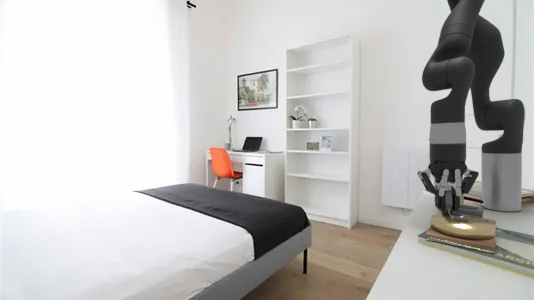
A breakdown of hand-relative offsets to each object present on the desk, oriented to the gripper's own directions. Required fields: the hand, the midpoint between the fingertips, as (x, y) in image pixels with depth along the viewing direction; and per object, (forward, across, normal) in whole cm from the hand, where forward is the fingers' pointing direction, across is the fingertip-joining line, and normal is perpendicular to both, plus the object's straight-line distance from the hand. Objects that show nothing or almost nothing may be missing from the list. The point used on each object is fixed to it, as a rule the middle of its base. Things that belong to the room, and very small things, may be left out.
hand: (447, 209), depth 65 cm
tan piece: (+5, +2, -2) cm, 6 cm away
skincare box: (+5, +8, +13) cm, 16 cm away
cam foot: (+3, 0, -5) cm, 6 cm away
